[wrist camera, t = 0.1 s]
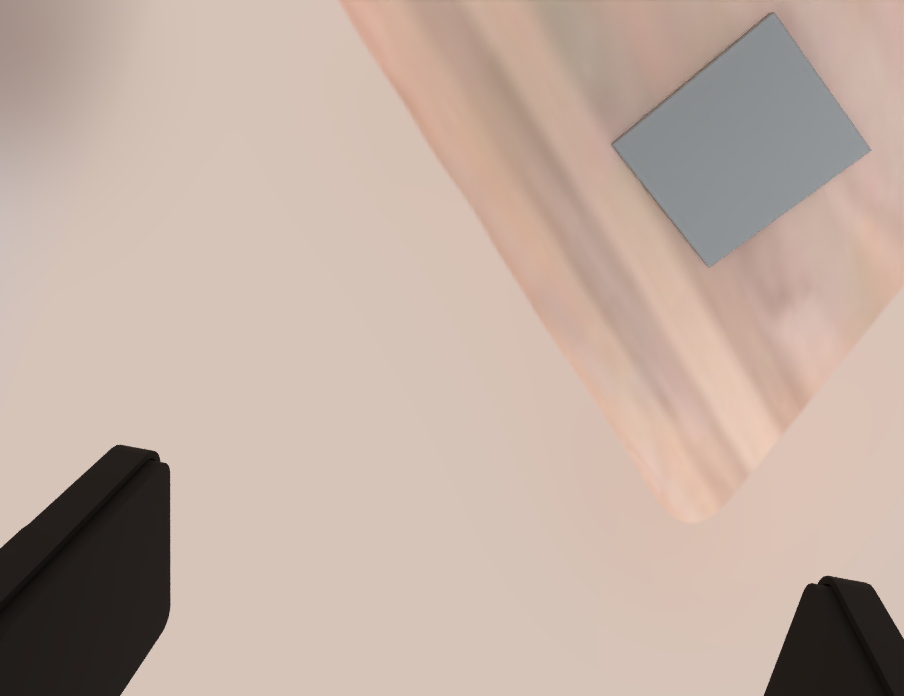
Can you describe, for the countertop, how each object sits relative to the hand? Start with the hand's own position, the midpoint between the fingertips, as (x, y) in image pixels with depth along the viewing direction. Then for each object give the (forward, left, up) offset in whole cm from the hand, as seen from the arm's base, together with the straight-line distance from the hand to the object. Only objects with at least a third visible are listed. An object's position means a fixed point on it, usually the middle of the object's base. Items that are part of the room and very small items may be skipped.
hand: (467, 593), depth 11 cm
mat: (-9, +4, -31) cm, 33 cm away
